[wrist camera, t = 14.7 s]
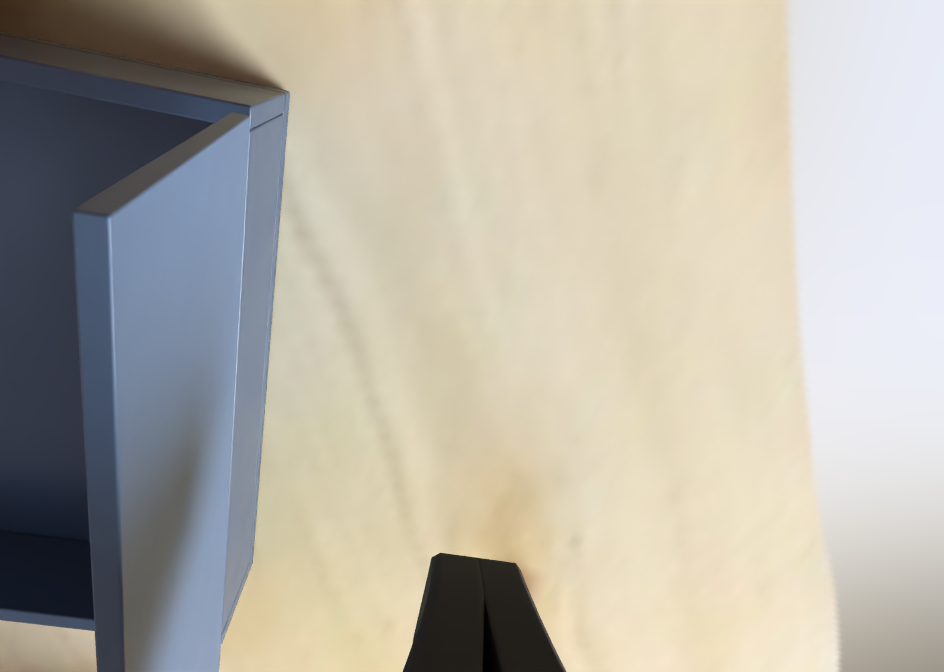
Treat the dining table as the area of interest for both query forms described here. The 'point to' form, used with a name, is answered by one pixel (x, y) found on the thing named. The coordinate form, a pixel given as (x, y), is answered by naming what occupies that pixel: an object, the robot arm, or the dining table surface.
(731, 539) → the dining table surface
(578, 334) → the dining table surface
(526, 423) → the dining table surface
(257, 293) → the carton
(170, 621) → the flap
